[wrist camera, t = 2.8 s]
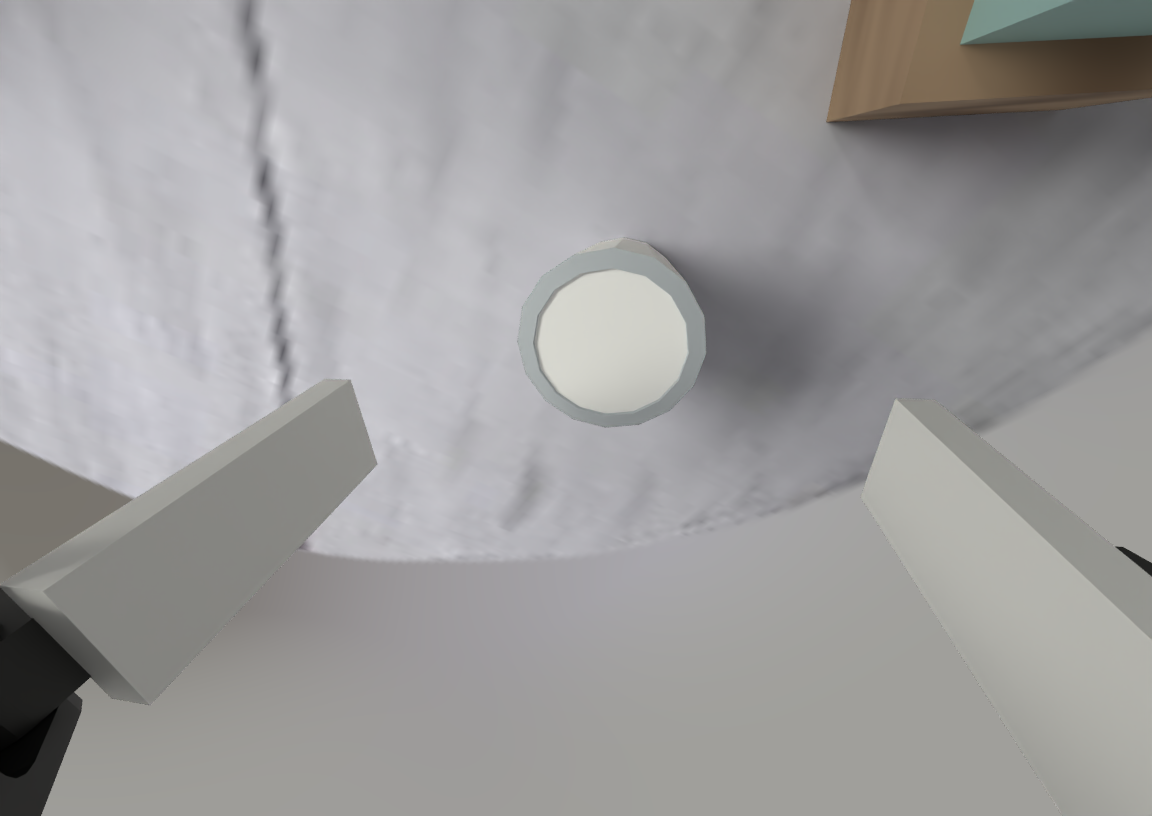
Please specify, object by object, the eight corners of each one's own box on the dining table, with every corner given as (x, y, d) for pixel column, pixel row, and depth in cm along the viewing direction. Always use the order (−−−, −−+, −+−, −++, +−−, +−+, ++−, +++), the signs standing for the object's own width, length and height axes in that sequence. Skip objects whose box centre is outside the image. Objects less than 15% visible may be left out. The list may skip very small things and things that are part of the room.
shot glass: (720, 302, 21) (749, 357, 15) (615, 384, 24) (603, 458, 18) (627, 188, 19) (616, 198, 13) (526, 293, 22) (479, 340, 16)
